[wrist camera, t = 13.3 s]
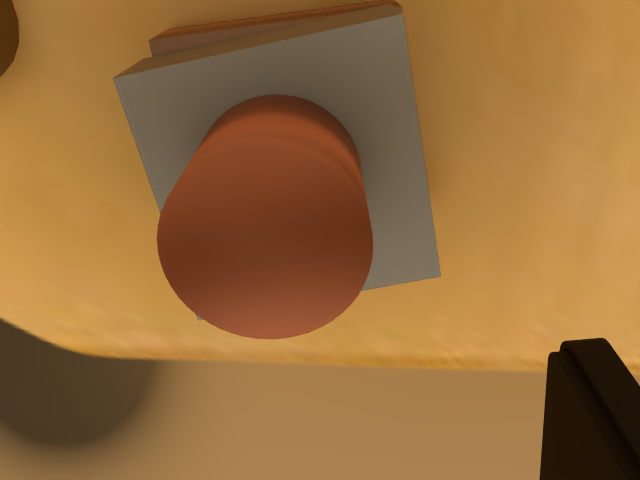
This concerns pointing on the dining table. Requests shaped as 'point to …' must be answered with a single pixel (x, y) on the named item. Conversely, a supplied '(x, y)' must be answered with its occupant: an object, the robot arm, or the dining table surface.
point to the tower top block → (318, 87)
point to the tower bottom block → (246, 27)
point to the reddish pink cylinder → (269, 221)
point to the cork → (7, 34)
